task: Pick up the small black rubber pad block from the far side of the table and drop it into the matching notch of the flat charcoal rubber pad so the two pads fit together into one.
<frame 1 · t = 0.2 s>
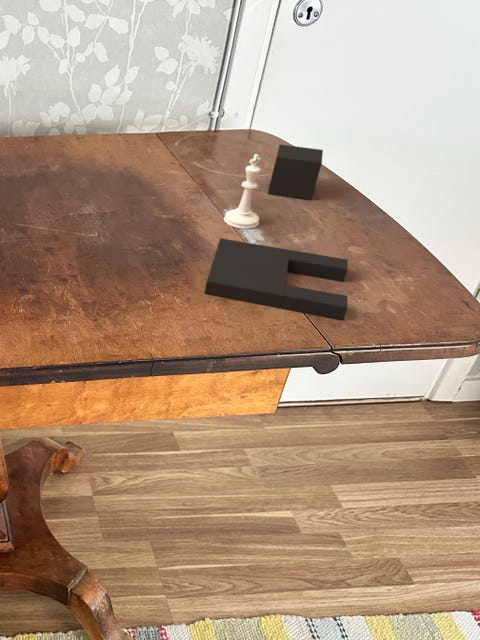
chess piece: (240, 222, 103), on the table
base pad: (275, 282, 89), on the table
pad piece: (290, 190, 111), on the table
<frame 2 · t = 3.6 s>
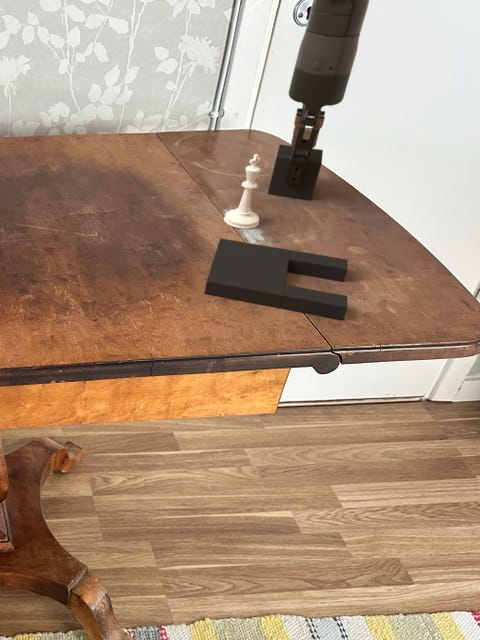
hand: (293, 177, 110), 2 cm above the table, tool pointing down, fingers closed on pad piece, 5 cm apart
pad piece: (290, 190, 111), on the table, touching gripper
everything else where it was.
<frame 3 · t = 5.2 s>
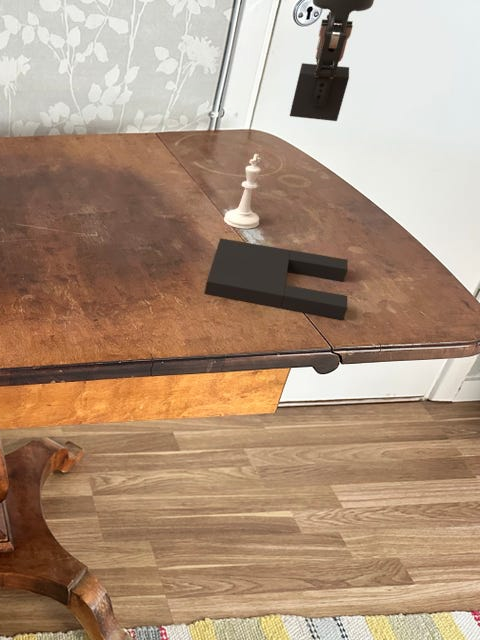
hand: (317, 98, 102), 14 cm above the table, tool pointing down, fingers closed on pad piece, 5 cm apart
pad piece: (313, 112, 103), point 12 cm above the table, touching gripper
everything else where it was.
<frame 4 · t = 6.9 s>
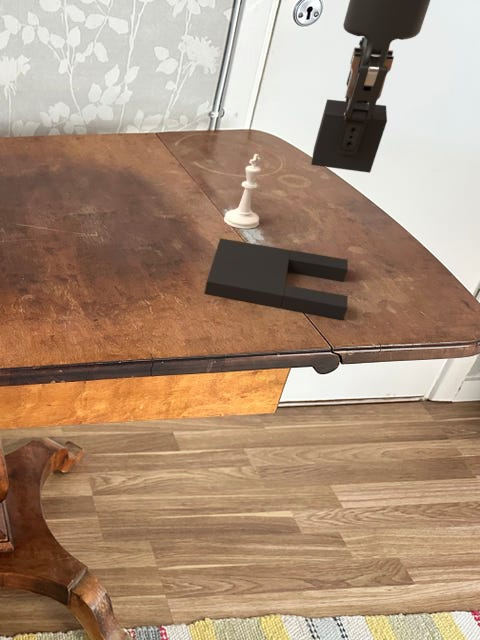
hand: (346, 143, 82), 16 cm above the table, tool pointing down, fingers closed on pad piece, 5 cm apart
pad piece: (340, 160, 84), point 14 cm above the table, touching gripper
everything else where it was.
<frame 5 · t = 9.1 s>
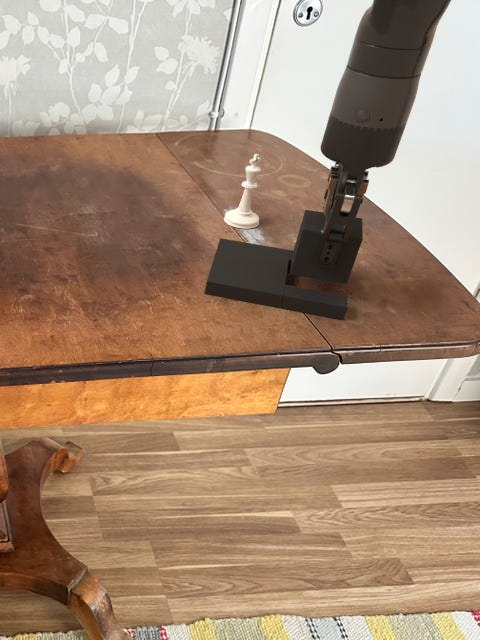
hand: (324, 253, 85), 5 cm above the table, tool pointing down, fingers closed on pad piece, 5 cm apart
pad piece: (318, 268, 86), point 3 cm above the table, touching gripper
everything else where it was.
when the fingers open (2 cm above the table, at t = 10.5 s): pad piece stays where it is, on the table.
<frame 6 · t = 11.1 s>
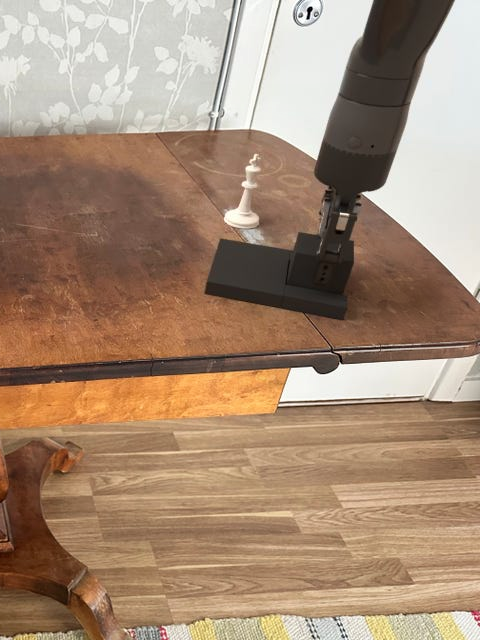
hand: (319, 269, 86), 3 cm above the table, tool pointing down, fingers open, 8 cm apart
pad piece: (311, 289, 88), on the table
everything else where it was.
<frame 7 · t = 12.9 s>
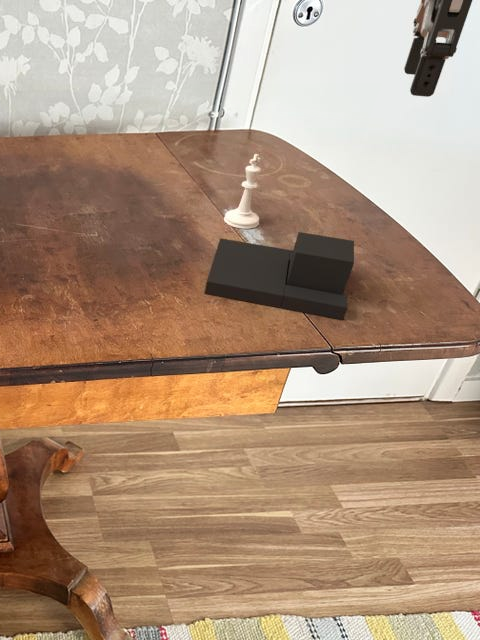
hand: (417, 84, 77), 23 cm above the table, tool pointing down, fingers open, 8 cm apart
nothing on the table moved.
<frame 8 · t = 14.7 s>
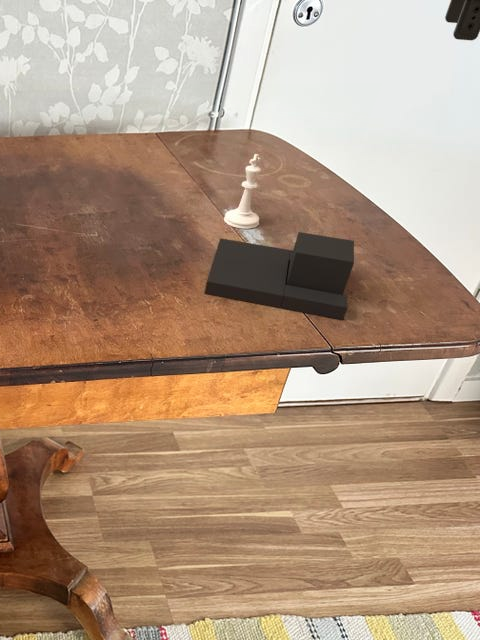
hand: (459, 30, 77), 28 cm above the table, tool pointing down, fingers open, 8 cm apart
nothing on the table moved.
at the end: pad piece 0.2 cm from the target spot on the base pad, point 0.0 cm above the base pad's base; pad piece tilted 0°; the gripper is holding nothing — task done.
